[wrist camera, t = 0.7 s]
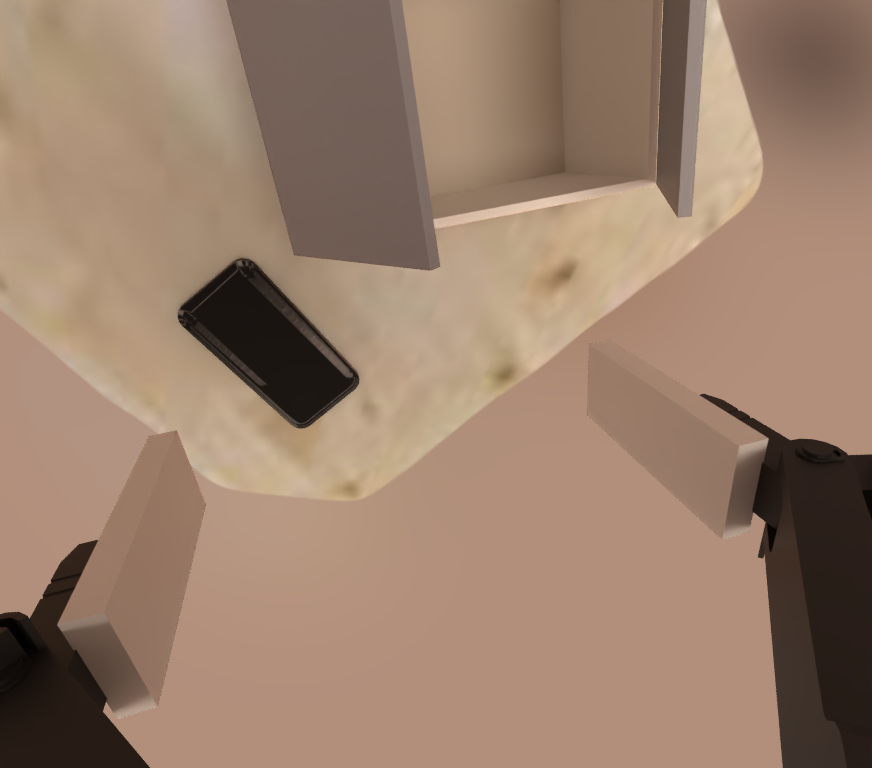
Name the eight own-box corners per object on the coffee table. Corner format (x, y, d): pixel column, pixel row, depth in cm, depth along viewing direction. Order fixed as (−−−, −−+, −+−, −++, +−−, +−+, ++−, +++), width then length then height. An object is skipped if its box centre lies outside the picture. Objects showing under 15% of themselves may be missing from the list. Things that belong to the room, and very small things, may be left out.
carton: (237, -12, 35) (211, -85, 24) (563, -49, 39) (667, -126, 28) (298, 228, 42) (300, 255, 31) (570, 178, 46) (655, 186, 35)
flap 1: (216, -83, 24) (203, -85, 24) (368, -234, 16) (352, -240, 16) (303, 252, 31) (294, 255, 31) (440, 266, 23) (430, 270, 22)
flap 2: (704, -251, 18) (724, -258, 18) (668, -124, 28) (680, -128, 28) (677, 217, 25) (691, 216, 24) (656, 184, 35) (666, 182, 34)
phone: (243, 254, 41) (364, 381, 48) (245, 251, 42) (362, 377, 49) (170, 316, 42) (299, 433, 49) (173, 312, 43) (299, 428, 50)
